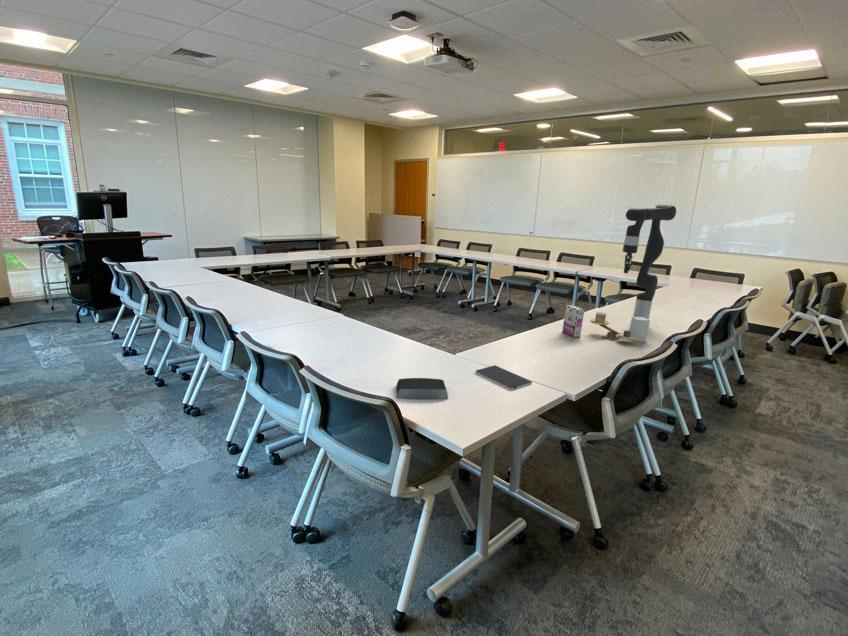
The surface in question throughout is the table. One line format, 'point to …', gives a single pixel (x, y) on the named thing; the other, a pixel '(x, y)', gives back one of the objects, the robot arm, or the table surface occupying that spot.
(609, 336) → the balance
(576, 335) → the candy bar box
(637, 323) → the supplement box
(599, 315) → the walnut block
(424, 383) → the external hard drive
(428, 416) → the table surface
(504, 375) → the notebook
